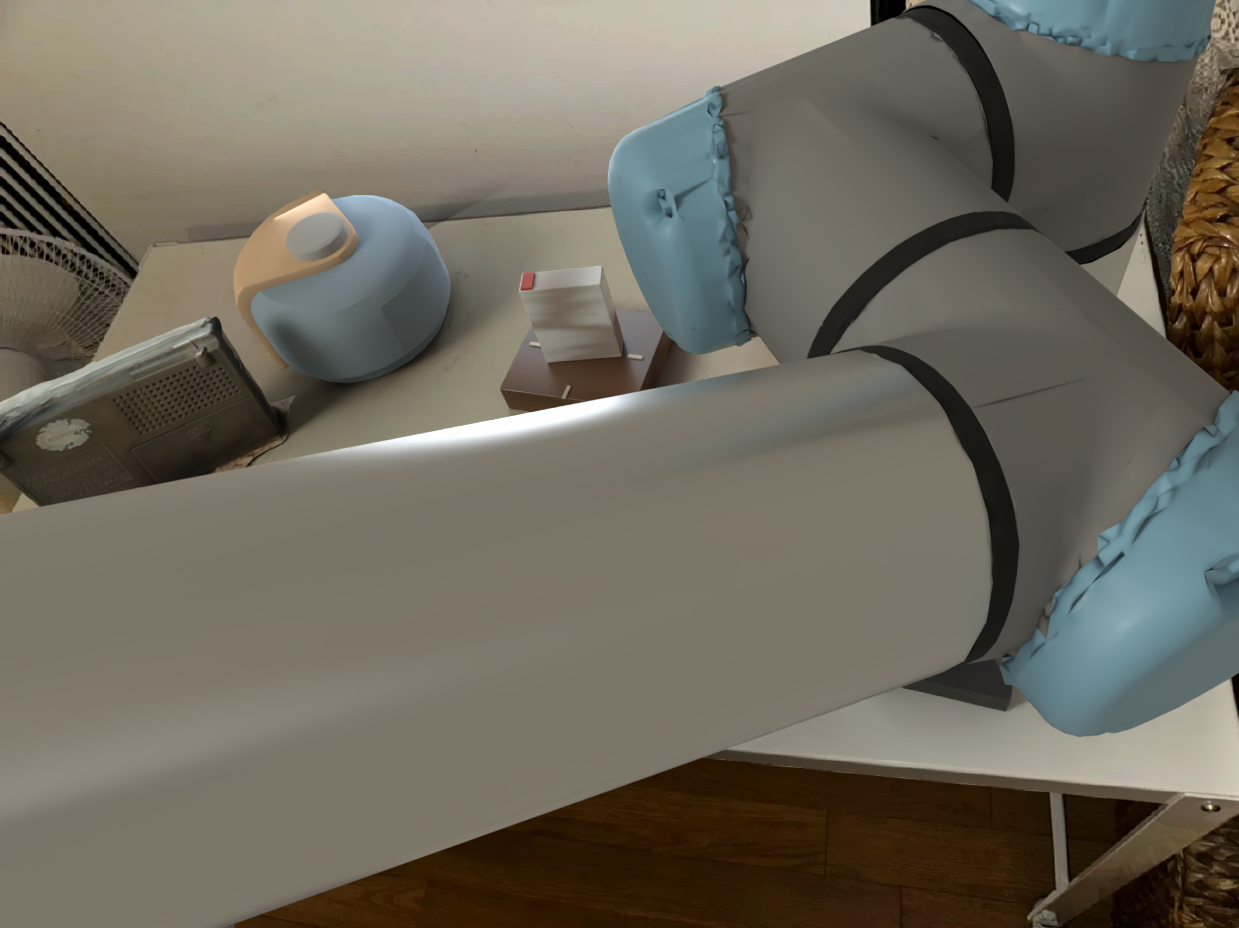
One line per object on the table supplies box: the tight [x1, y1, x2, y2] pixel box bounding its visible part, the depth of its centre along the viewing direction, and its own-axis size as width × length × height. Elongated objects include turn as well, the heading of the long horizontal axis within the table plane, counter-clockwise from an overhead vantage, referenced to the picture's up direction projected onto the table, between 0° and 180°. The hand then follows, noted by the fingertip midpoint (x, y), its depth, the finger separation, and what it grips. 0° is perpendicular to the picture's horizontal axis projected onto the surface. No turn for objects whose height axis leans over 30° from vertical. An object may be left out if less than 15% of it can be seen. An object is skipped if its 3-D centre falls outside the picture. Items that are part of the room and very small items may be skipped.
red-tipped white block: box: [518, 265, 624, 363], centre depth 80 cm, size 7×2×9 cm, turn 86°
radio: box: [0, 316, 296, 507], centre depth 83 cm, size 23×9×15 cm, turn 110°
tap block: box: [499, 308, 675, 413], centre depth 84 cm, size 11×13×3 cm
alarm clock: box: [232, 188, 452, 384], centre depth 91 cm, size 19×20×12 cm
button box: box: [901, 659, 1014, 713], centre depth 64 cm, size 11×9×4 cm
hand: (955, 558), depth 57 cm, fingers closed
